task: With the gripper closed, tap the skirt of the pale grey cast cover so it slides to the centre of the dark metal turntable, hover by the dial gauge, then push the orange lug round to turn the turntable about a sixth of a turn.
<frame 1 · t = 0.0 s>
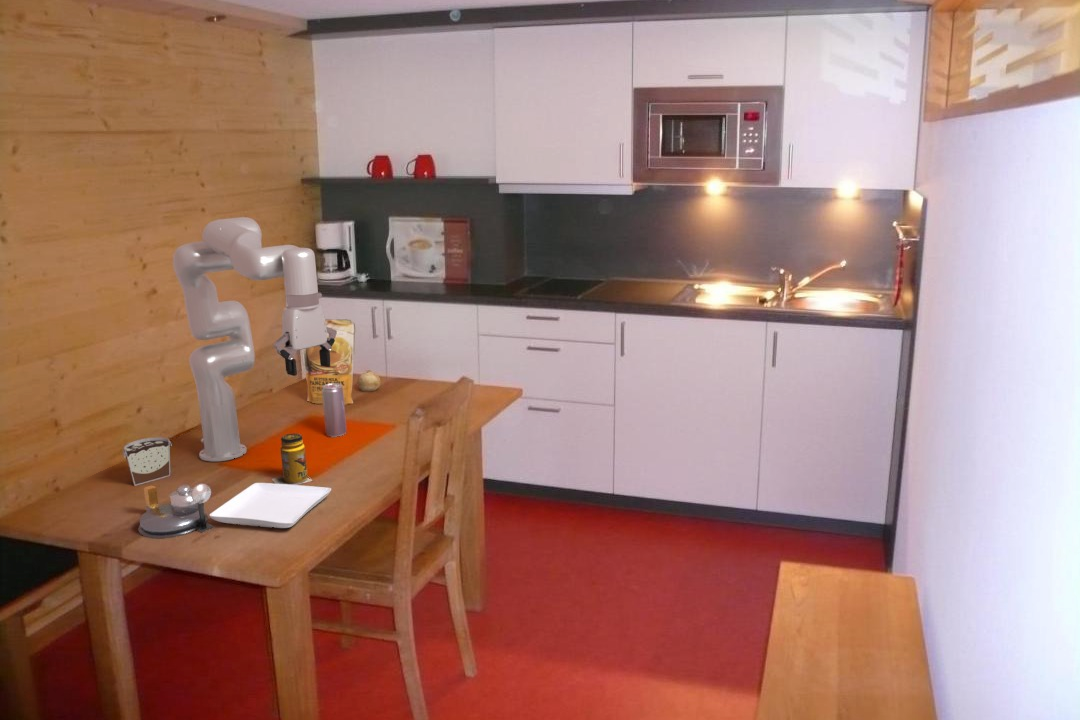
hand: (309, 370, 221), 31 cm above the table, tool pointing down, fingers open, 9 cm apart
food container: (148, 478, 241), on the table
salad plate: (273, 514, 217), on the table
onion: (369, 390, 318), on the table
turntable: (167, 507, 212), point 4 cm above the table, hinge at 0.0°, touching cover
pancake mix bag: (331, 402, 305), on the table
condiment: (292, 481, 236), on the table
turntable base: (173, 524, 212), on the table
cover: (186, 509, 213), point 2 cm above the table, touching turntable
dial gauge: (203, 528, 209), on the table
beverage can: (336, 435, 272), on the table
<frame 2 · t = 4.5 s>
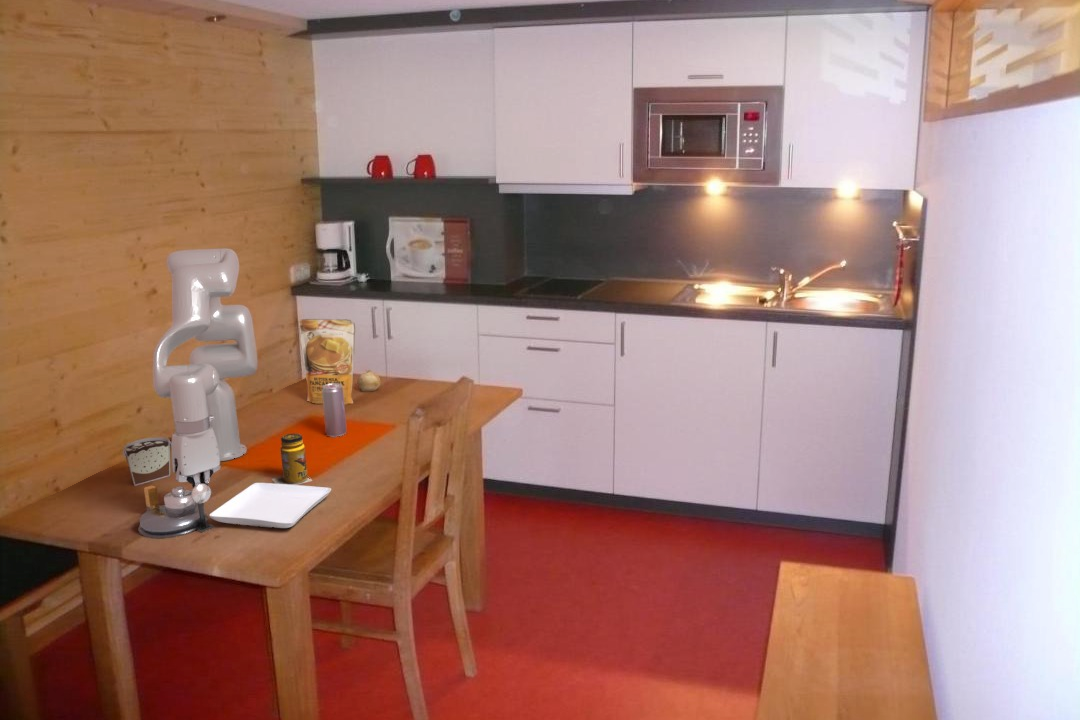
hand: (201, 499, 216), 4 cm above the table, tool pointing down, fingers closed
turntable: (167, 507, 212), point 4 cm above the table, hinge at -0.3°
cover: (180, 511, 212), point 3 cm above the table
everything else where it was.
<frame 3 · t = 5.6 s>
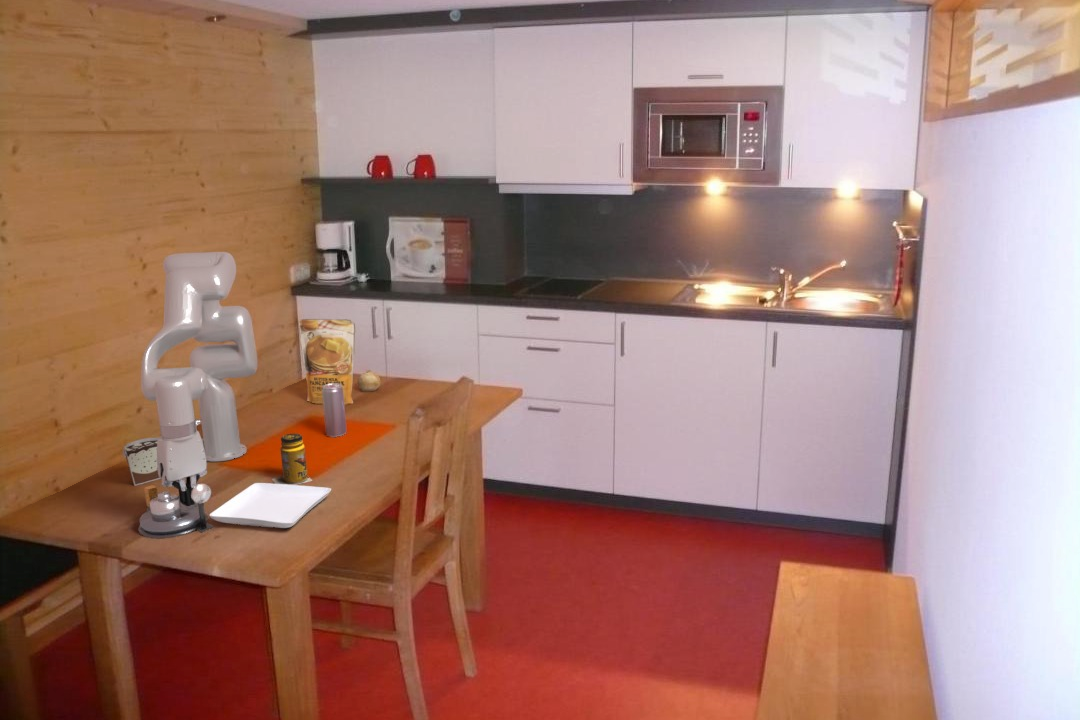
hand: (188, 504, 214), 4 cm above the table, tool pointing down, fingers closed
turntable: (168, 507, 212), point 4 cm above the table, hinge at -0.7°, touching cover
cover: (166, 516, 210), point 2 cm above the table, touching gripper, turntable
everything else where it was.
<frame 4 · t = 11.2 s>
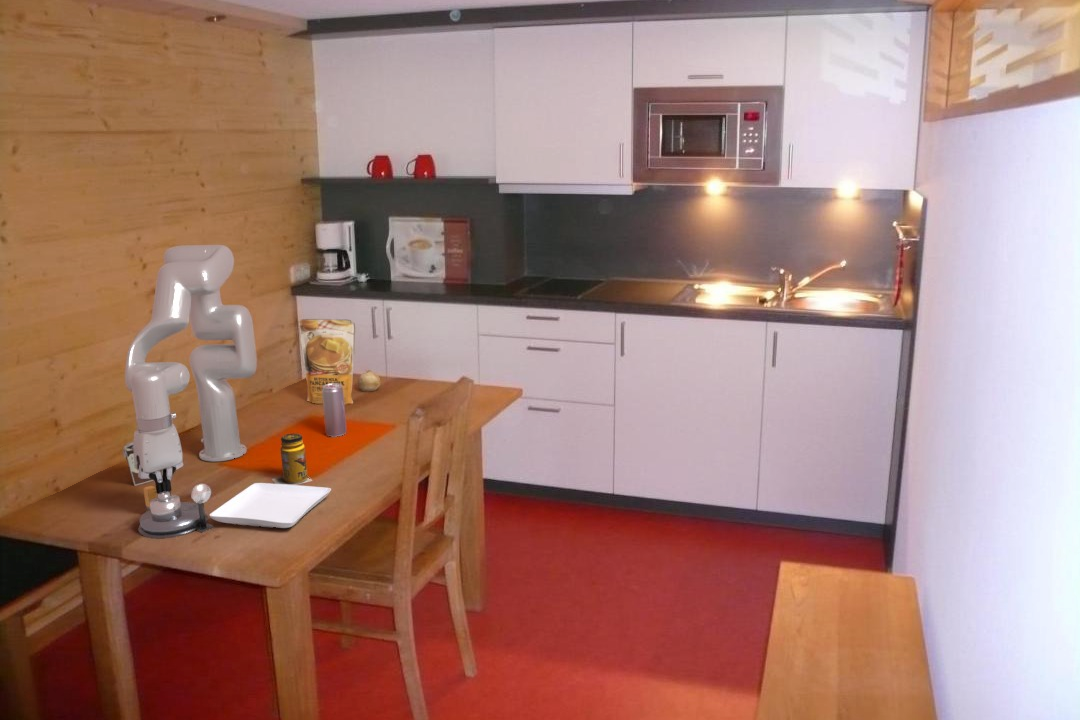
hand: (164, 495, 219), 4 cm above the table, tool pointing down, fingers closed
turntable: (167, 507, 212), point 4 cm above the table, hinge at 0.6°, touching cover, gripper
cover: (166, 516, 210), point 2 cm above the table, touching turntable
everything else where it was.
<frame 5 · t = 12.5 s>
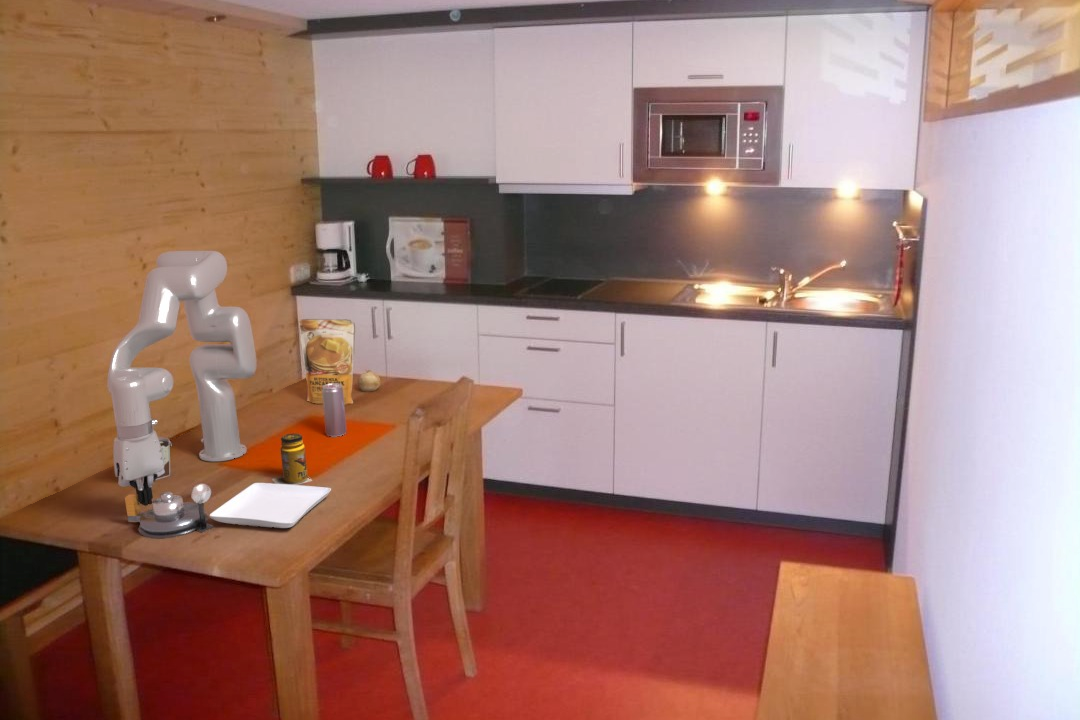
hand: (145, 503, 215), 4 cm above the table, tool pointing down, fingers closed
turntable: (164, 509, 211), point 4 cm above the table, hinge at 33.6°, touching cover, gripper
everything else where it was.
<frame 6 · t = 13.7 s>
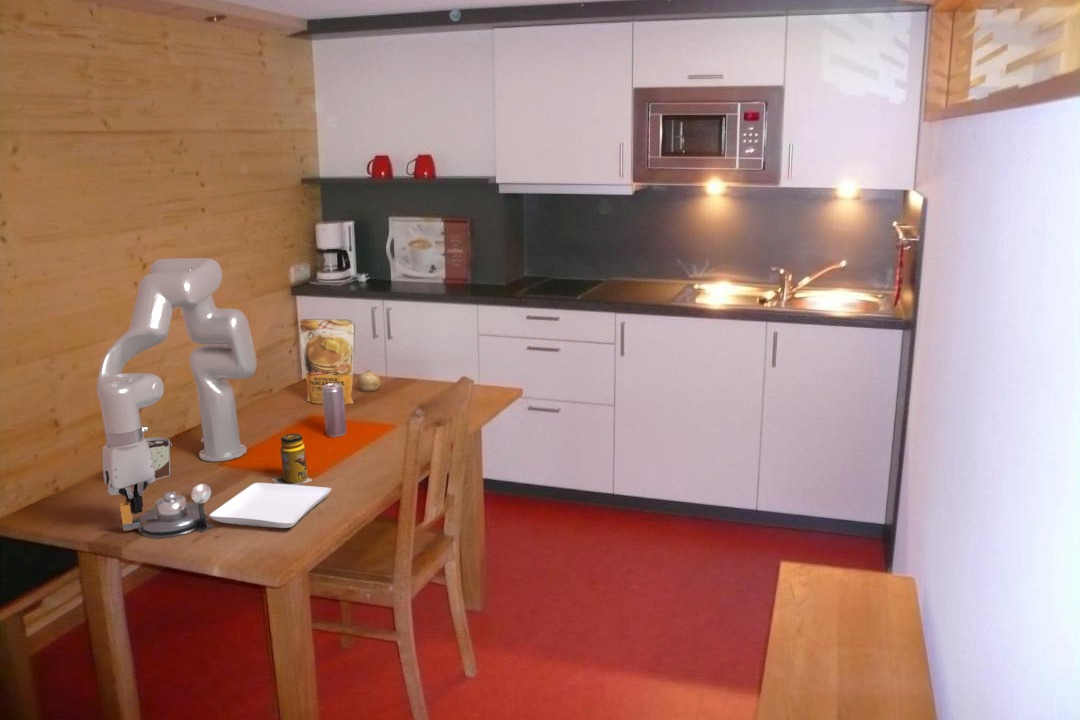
hand: (136, 511, 211), 3 cm above the table, tool pointing down, fingers closed
turntable: (163, 510, 210), point 4 cm above the table, hinge at 61.6°, touching cover, gripper
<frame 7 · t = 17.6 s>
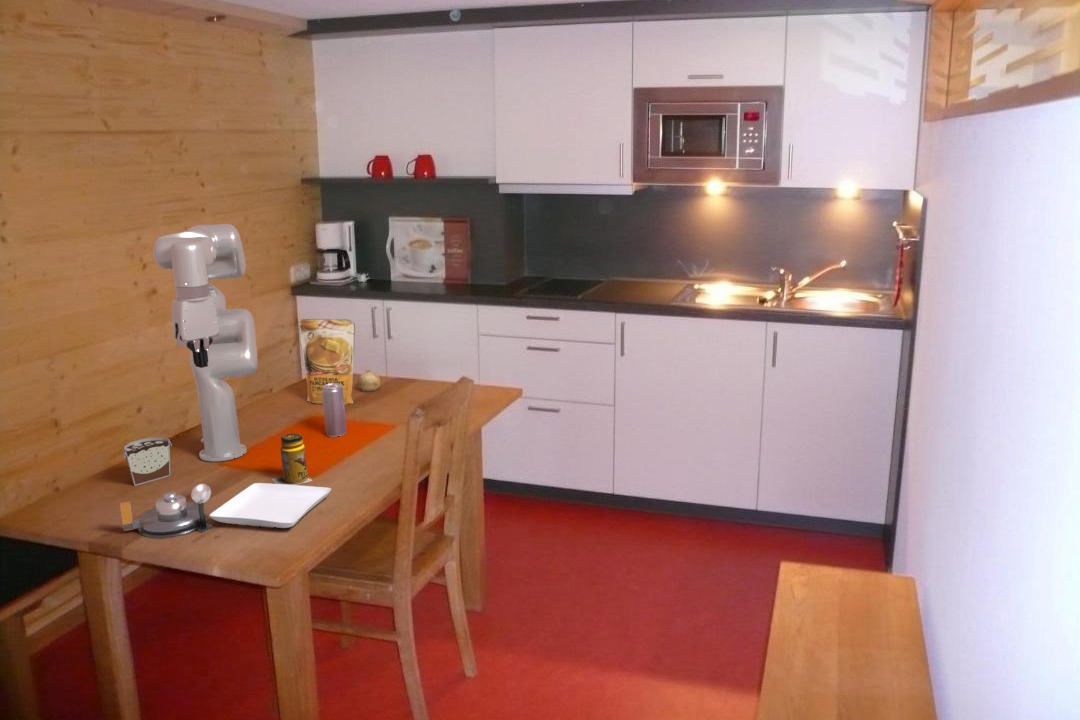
hand: (201, 366, 224), 32 cm above the table, tool pointing down, fingers closed
turntable: (163, 510, 210), point 4 cm above the table, hinge at 61.7°, touching cover
at the end: cover 1.4 cm from the turntable (horizontally); turntable at +62° (first picture: +0°); cover tilted 0° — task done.
